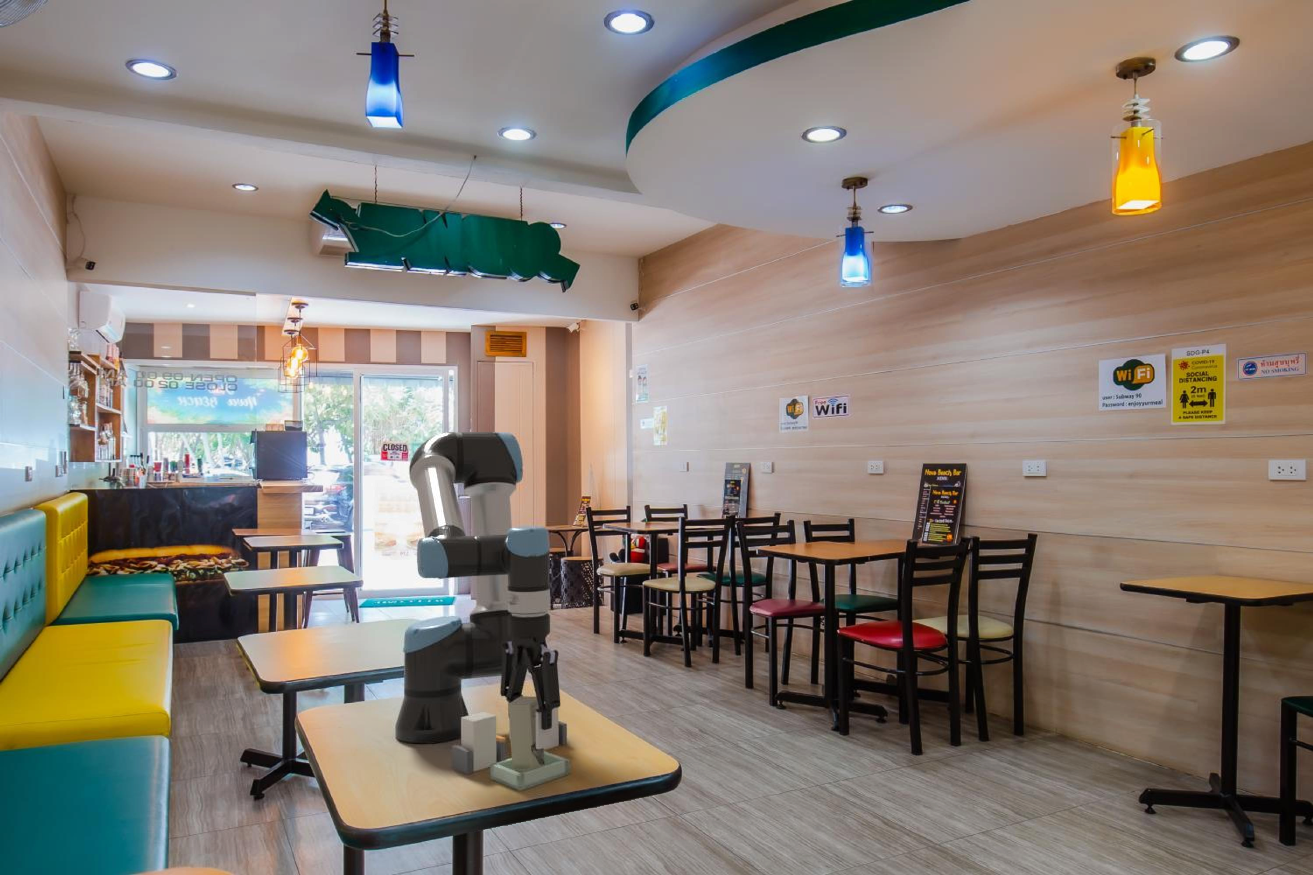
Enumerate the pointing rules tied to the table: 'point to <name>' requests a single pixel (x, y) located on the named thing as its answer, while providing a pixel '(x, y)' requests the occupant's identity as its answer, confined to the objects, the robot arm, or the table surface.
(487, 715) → the tall white upright block
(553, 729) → the tall white pillar
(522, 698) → the box
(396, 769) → the table surface
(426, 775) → the table surface
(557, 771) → the tray
